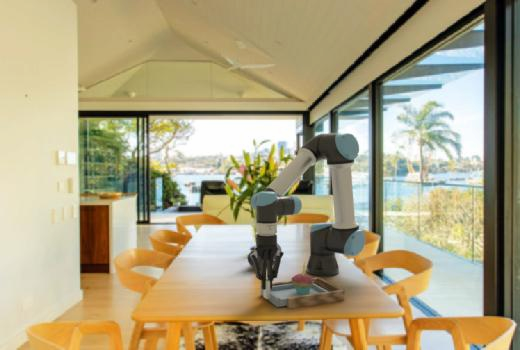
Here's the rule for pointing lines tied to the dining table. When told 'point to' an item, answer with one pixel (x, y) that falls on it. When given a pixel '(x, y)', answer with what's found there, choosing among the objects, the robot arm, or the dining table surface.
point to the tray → (288, 293)
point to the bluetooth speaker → (259, 257)
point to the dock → (317, 298)
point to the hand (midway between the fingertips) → (266, 297)
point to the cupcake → (302, 282)
